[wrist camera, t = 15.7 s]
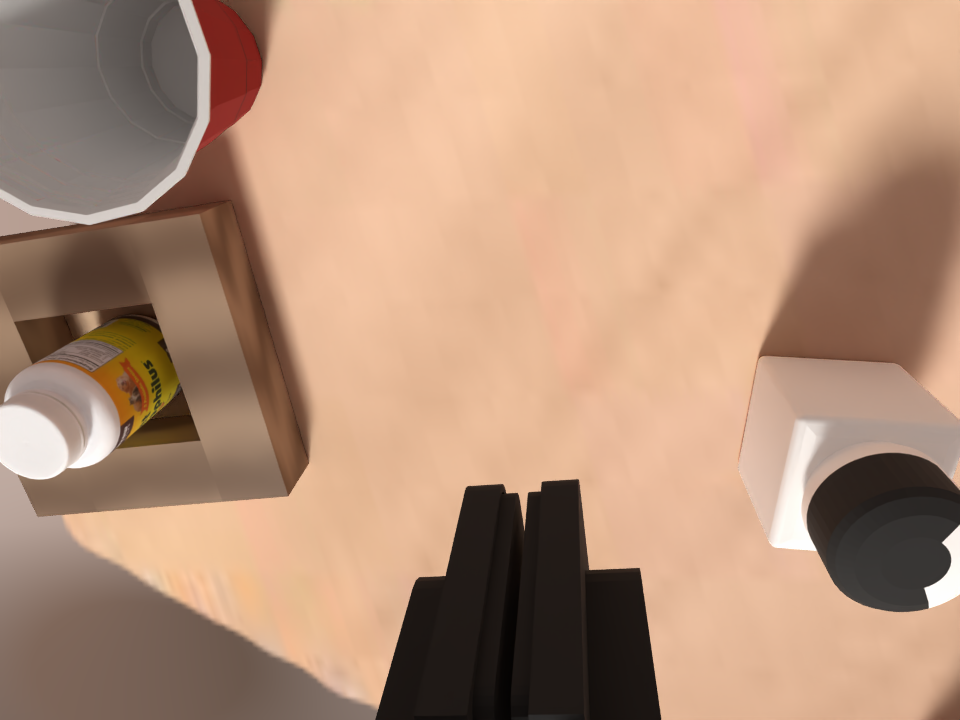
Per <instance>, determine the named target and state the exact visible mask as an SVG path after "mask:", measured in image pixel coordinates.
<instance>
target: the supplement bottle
mask: <svg viewBox="0 0 960 720" xmlns="http://www.w3.org/2000/svg"><path fill="white" fill-rule="evenodd" d="M181 390H182V387H181V384H180V381H179V379H178V376H177V373H176V370H175V367H174V365H173V362H172V359H171V356H170V353H169V351H168V348H167V345H166V342H165V339H164V337H163V334H162V331H161V328H160V325H159V323H158V321H157V320H155V319H152V318H150V317H146V316H142V315H123V316H119V317H116V318H114V319H112V320H110V321H108V322H106V323H104V324H103V325H101V326H99V327H97V328H96V329H94V330H92V331H90V332H89V333H87V334H85V335H83V336H82V337H80V338H78V339H76V340H75V341H73V342H71V343H69V344H68V345H66V346H64V347H62V348H61V349H59V350H57V351H55V352H54V353H52V354H50V355H48V356H47V357H45V358H43V359H41V360H39V361H38V362H36V363H34V364H33V365H31V366H29V367H27V368H26V369H24V370H23V371H21V372H20V373H19V374H17V375H16V376H15V377H14V379H13V380H12V381H11V382H10V384H9V386H8V388H7V390H6V393H5V398H4V403H3V404H1V405H0V462H1V463H2V464H3V465H4V466H6V467H7V468H8V469H10V470H11V471H13V472H15V473H16V474H19V475H21V476H23V477H27V478H30V479H38V480H40V479H49V478H52V477H55V476H57V475H58V474H60V473H61V472H63V471H64V470H65V469H66V468H82V467H87V466H90V465H93V464H96V463H98V462H100V461H101V460H103V459H104V458H105V457H106V456H108V455H109V454H110V453H111V452H113V451H114V450H115V449H116V448H117V447H118V446H119V445H120V444H122V443H123V442H124V441H125V440H126V439H127V438H128V437H130V436H131V435H132V434H133V433H134V432H135V431H136V430H138V429H139V428H140V427H141V426H142V425H143V424H145V423H146V422H147V421H148V420H149V419H150V418H152V417H153V416H154V415H155V414H156V413H157V412H158V411H160V410H161V409H162V408H163V407H164V406H165V405H166V404H168V403H169V402H170V401H171V400H172V399H173V398H174V397H175V396H176V395H177V394H178V393H179V392H180V391H181Z"/></svg>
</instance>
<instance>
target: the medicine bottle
mask: <svg viewBox="0 0 960 720" xmlns="http://www.w3.org/2000/svg"><path fill="white" fill-rule="evenodd" d="M959 458H960V420H959V419H958V418H957V417H956V416H955V415H954V414H953V413H952V412H950V411H949V410H948V409H947V408H946V407H945V406H944V405H943V404H942V403H941V402H939V401H938V400H937V399H936V398H935V397H934V396H933V395H932V394H931V393H930V392H928V391H927V390H926V389H925V388H924V387H923V386H922V385H921V384H920V383H919V382H918V381H916V380H915V379H914V378H913V377H912V376H911V375H910V374H909V373H908V372H907V371H905V370H904V369H903V368H902V367H901V366H900V365H898V364H895V363H884V362H866V361H849V360H831V359H813V358H796V357H778V356H762V357H761V358H759V360H758V364H757V369H756V375H755V380H754V385H753V390H752V395H751V401H750V406H749V411H748V416H747V422H746V427H745V432H744V437H743V442H742V448H741V453H740V458H739V463H738V471H739V473H740V475H741V478H742V480H743V482H744V485H745V487H746V489H747V492H748V494H749V496H750V499H751V501H752V503H753V506H754V508H755V510H756V513H757V515H758V518H759V520H760V522H761V525H762V527H763V529H764V532H765V534H766V536H767V539H768V541H769V543H770V544H771V545H772V546H773V547H776V548H789V549H801V550H813V551H817V552H818V554H819V555H820V557H821V559H822V561H823V563H824V565H825V567H826V569H827V571H828V573H829V575H830V577H831V578H832V580H833V582H834V584H835V585H836V586H837V587H838V588H839V590H840V591H842V592H843V593H844V594H845V595H846V596H848V597H849V598H851V599H852V600H854V601H856V602H858V603H860V604H862V605H865V606H868V607H871V608H875V609H880V610H885V611H893V612H910V611H919V610H923V609H928V608H931V607H934V606H938V605H940V604H943V603H945V602H947V601H949V600H951V599H953V598H954V597H956V596H958V595H959V594H960V488H959V487H958V485H957V484H956V483H955V482H954V481H953V480H952V479H953V476H954V473H955V470H956V467H957V464H958V461H959Z"/></svg>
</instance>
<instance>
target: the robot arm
mask: <svg viewBox="0 0 960 720" xmlns="http://www.w3.org/2000/svg"><path fill="white" fill-rule="evenodd" d="M376 720H661V714H660V707H659V700H658V693H657V686H656V679H655V671H654V664H653V657H652V650H651V643H650V636H649V629H648V622H647V614H646V607H645V600H644V593H643V586H642V579H641V572H640V568H630V569H606V570H589V565H588V556H587V547H586V538H585V529H584V520H583V511H582V502H581V493H580V485H579V479H576V480H560V481H544V482H542V485H541V492H529V493H528V500H527V511H526V523H525V531H524V525H523V518H522V512H521V505H520V499H519V495H518V493H509V494H506V490H505V487H504V485H503V484H497V485H481V486H468V487H466V490H465V493H464V498H463V502H462V507H461V511H460V515H459V520H458V524H457V528H456V533H455V537H454V542H453V546H452V550H451V555H450V559H449V563H448V568H447V572H446V576H440V577H419V578H418V579H417V580H416V582H415V584H414V587H413V589H412V593H411V596H410V600H409V603H408V607H407V610H406V614H405V617H404V621H403V624H402V628H401V631H400V635H399V639H398V642H397V646H396V649H395V653H394V656H393V660H392V663H391V667H390V670H389V674H388V677H387V681H386V684H385V688H384V691H383V695H382V698H381V702H380V705H379V709H378V712H377V716H376Z"/></svg>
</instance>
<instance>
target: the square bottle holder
mask: <svg viewBox="0 0 960 720" xmlns="http://www.w3.org/2000/svg"><path fill="white" fill-rule="evenodd" d="M150 303H152V306H153V309H154V312H155V314H156V317H157V320H158V323H159V325H160V328H161V331H162V334H163V337H164V339H165V342H166V345H167V348H168V351H169V353H170V356H171V359H172V362H173V365H174V367H175V370H176V373H177V376H178V379H179V381H180V384H181V387H182V390H183V393H184V395H185V398H186V401H187V404H188V406H189V409H190V412H191V415H189V416H179V417H169V418H160V419H150V420H148V421H147V422H146V423H145V424H143V425H142V426H141V427H140V428H139V429H138V430H136V431H135V432H134V433H133V434H132V435H131V436H130V437H128V438H127V439H126V440H125V441H124V442H123V443H122V444H120V445H119V446H118V447H117V448H116V449H115V450H114V451H113V452H111V453H110V454H109V455H108V456H106V457H105V458H104V459H103V460H101V461H100V462H98V463H96V464H93V465H90V466H87V467H82V468H66V469H65V470H64V471H63V472H61V473H60V474H58V475H57V476H55V477H52V478H49V479H40V480H38V479H30V478H27V477H23V476H21V475H19V474H17V475H18V477H19V479H20V481H21V483H22V485H23V487H24V489H25V491H26V493H27V495H28V497H29V499H30V501H31V504H32V506H33V508H34V510H35V512H36V514H37V516H38V517H40V516H53V515H65V514H78V513H90V512H102V511H114V510H126V509H139V508H151V507H163V506H175V505H188V504H200V503H212V502H224V501H236V500H249V499H261V498H273V497H285V496H289V494H290V493H291V491H292V489H293V488H294V486H295V485H296V483H297V481H298V480H299V478H300V477H301V475H302V473H303V472H304V470H305V469H306V467H307V465H308V464H309V462H308V459H307V456H306V452H305V449H304V446H303V442H302V439H301V435H300V432H299V429H298V425H297V422H296V418H295V415H294V412H293V408H292V405H291V402H290V398H289V395H288V391H287V388H286V385H285V381H284V378H283V375H282V371H281V368H280V364H279V361H278V358H277V354H276V351H275V347H274V344H273V341H272V337H271V334H270V331H269V327H268V324H267V320H266V317H265V314H264V310H263V307H262V304H261V300H260V297H259V293H258V290H257V287H256V283H255V280H254V276H253V273H252V270H251V266H250V263H249V260H248V256H247V253H246V249H245V246H244V243H243V239H242V236H241V233H240V229H239V226H238V222H237V219H236V216H235V212H234V209H233V205H232V202H231V200H230V201H223V202H217V203H210V204H204V205H198V206H191V207H185V208H179V209H172V210H166V211H159V212H153V213H147V214H140V215H134V216H128V217H121V218H115V219H111V220H107V221H104V222H100V223H96V224H92V225H86V224H77V225H70V226H64V227H58V228H51V229H45V230H38V231H32V232H26V233H19V234H13V235H7V236H1V237H0V405H1V404H3V403H4V398H5V393H6V390H7V388H8V386H9V384H10V382H11V381H12V380H13V379H14V377H15V376H16V375H17V374H19V373H20V372H21V371H23V370H24V369H26V368H27V367H29V366H31V365H33V364H34V363H36V362H38V361H39V360H41V359H43V358H45V357H47V356H48V355H50V354H52V353H54V352H55V351H57V350H59V349H61V348H62V347H64V346H66V345H68V344H69V343H71V342H73V341H74V340H73V337H72V335H71V332H70V330H69V328H68V325H67V323H66V320H65V318H64V315H68V314H76V313H83V312H90V311H98V310H105V309H113V308H120V307H128V306H135V305H143V304H150Z"/></svg>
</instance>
